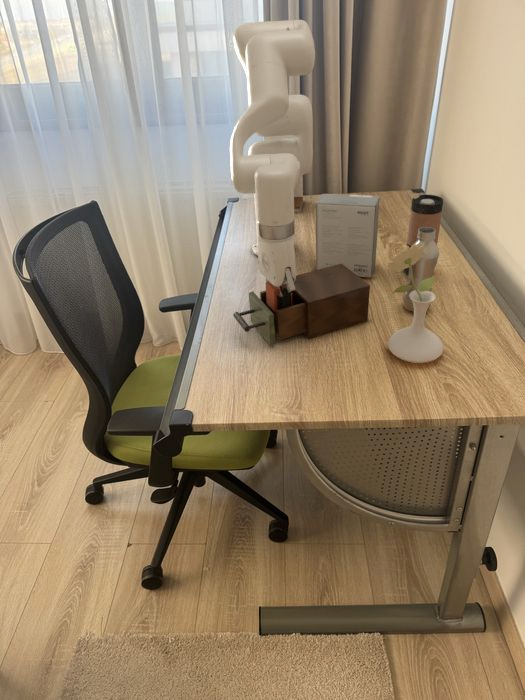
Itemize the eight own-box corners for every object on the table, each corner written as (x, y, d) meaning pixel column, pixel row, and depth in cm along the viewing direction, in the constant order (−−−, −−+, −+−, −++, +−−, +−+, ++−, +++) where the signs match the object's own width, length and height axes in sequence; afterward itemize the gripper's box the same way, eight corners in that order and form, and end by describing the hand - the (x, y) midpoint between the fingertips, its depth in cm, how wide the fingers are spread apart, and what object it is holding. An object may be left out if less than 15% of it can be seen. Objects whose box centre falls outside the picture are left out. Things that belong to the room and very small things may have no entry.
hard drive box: (375, 266, 143) (381, 195, 131) (371, 278, 137) (377, 206, 125) (321, 260, 147) (322, 192, 136) (314, 272, 141) (315, 202, 130)
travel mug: (433, 279, 135) (445, 205, 123) (403, 278, 136) (412, 204, 124) (431, 266, 141) (442, 194, 129) (403, 265, 142) (411, 194, 130)
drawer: (249, 351, 111) (247, 321, 107) (231, 326, 120) (228, 297, 115) (328, 328, 117) (328, 298, 112) (305, 305, 126) (304, 277, 121)
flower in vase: (432, 335, 114) (450, 228, 99) (449, 366, 105) (471, 254, 90) (374, 339, 114) (383, 233, 99) (386, 370, 105) (397, 259, 90)
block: (266, 303, 116) (265, 282, 113) (284, 298, 118) (283, 277, 115) (274, 312, 113) (273, 290, 110) (292, 307, 114) (291, 285, 111)
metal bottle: (398, 303, 126) (406, 225, 114) (425, 300, 126) (436, 223, 115) (406, 316, 121) (416, 237, 109) (434, 314, 121) (447, 234, 109)
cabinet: (308, 339, 116) (308, 302, 110) (284, 313, 125) (283, 278, 120) (367, 321, 120) (370, 285, 115) (340, 297, 130) (341, 263, 124)
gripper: (243, 218, 110) (250, 292, 121) (276, 247, 97) (280, 327, 108) (275, 211, 112) (278, 284, 123) (311, 239, 99) (312, 318, 110)
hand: (279, 304), depth 115 cm, fingers closed on block, 4 cm apart
